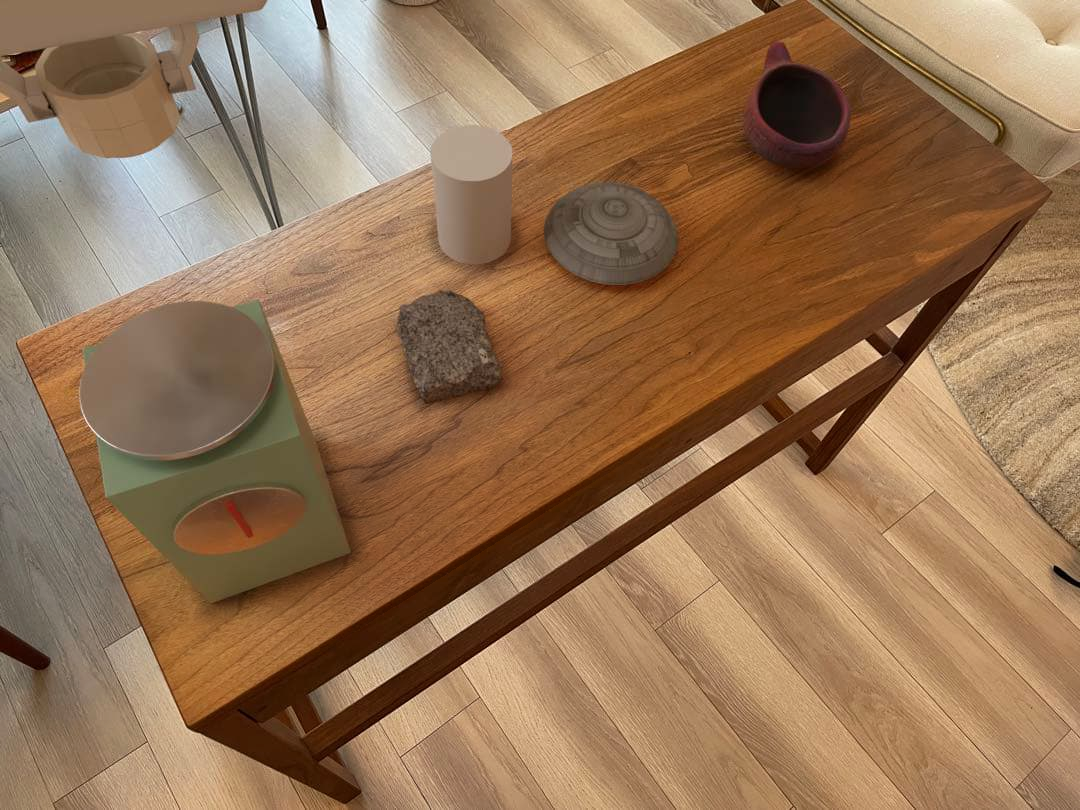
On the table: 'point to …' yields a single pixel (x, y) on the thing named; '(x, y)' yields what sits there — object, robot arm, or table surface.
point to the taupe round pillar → (472, 193)
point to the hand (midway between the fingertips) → (114, 99)
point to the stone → (447, 346)
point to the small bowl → (109, 95)
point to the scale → (210, 446)
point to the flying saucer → (611, 233)
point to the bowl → (795, 113)
